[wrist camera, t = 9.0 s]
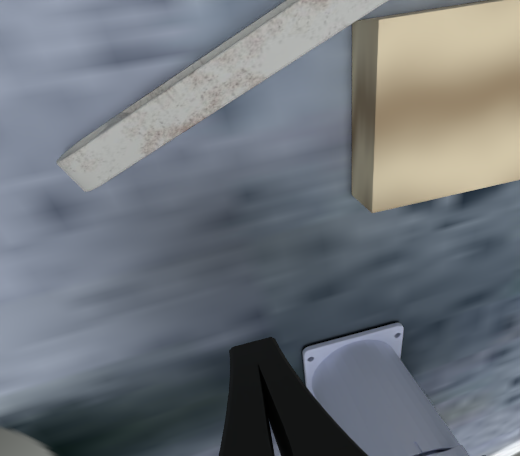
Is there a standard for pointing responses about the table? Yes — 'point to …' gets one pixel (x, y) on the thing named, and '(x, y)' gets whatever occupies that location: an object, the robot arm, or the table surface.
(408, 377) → the robot arm
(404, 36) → the board
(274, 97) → the table surface
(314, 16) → the wrench
